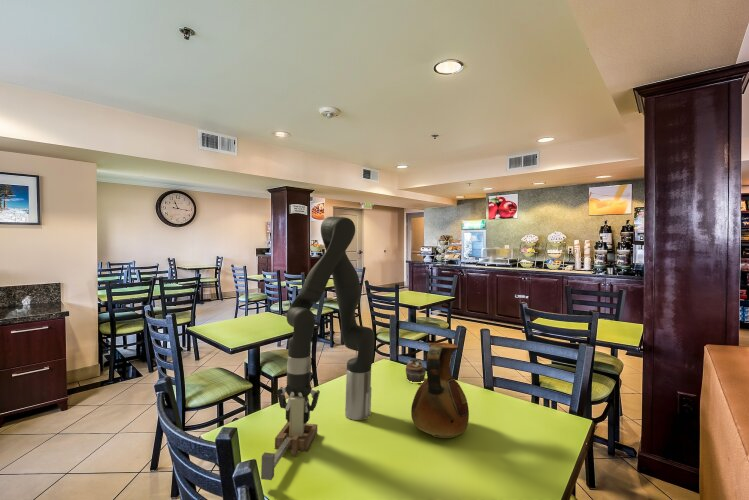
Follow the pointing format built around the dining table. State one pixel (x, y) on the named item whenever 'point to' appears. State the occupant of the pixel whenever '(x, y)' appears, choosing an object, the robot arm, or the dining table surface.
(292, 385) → the robot arm
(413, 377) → the cupcake
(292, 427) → the skincare box
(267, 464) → the pin
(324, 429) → the dining table surface
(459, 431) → the ceramic pitcher
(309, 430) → the dock
